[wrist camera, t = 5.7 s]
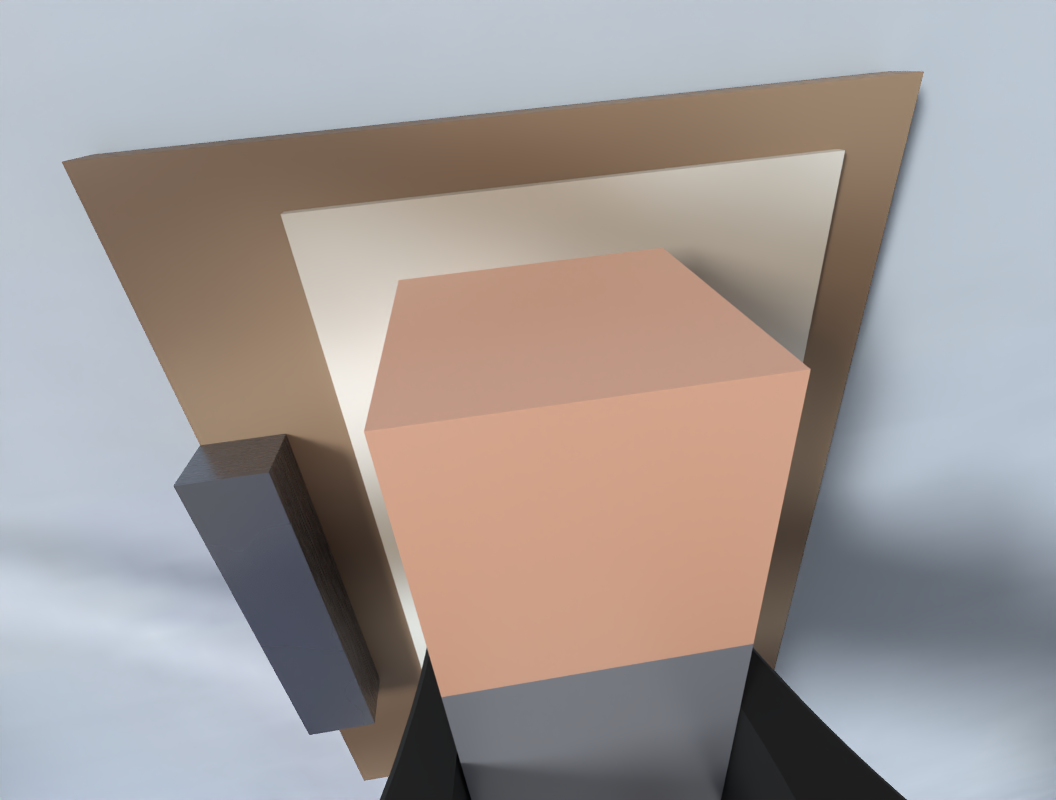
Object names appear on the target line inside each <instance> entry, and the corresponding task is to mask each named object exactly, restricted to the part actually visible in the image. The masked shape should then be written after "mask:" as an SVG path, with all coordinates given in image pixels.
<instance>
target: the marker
mask: <svg viewBox="0 0 1056 800" xmlns="http://www.w3.org/2000/svg"><path fill="white" fill-rule="evenodd" d="M810 370H811V369H810V368H808V367H807V366H806V365H805V364H804V363H802V362H801V361H800V360H799V359H798V358H796V357H795V356H794V355H793V354H791V353H790V352H789V351H788V350H787V349H785V348H784V347H783V346H782V345H780V344H779V343H778V342H777V341H776V340H774V339H773V338H772V337H771V336H770V335H768V334H767V333H766V332H765V331H763V330H762V329H761V328H760V327H759V326H757V325H756V324H755V323H754V322H753V321H751V320H750V319H749V318H748V317H746V316H745V315H744V314H743V313H742V312H740V311H739V310H738V309H737V308H735V307H734V306H733V305H732V304H731V303H729V302H728V301H727V300H726V299H725V298H723V297H722V296H721V295H720V294H718V293H717V292H716V291H715V290H714V289H712V288H711V287H710V286H709V285H707V284H706V283H705V282H704V281H703V280H701V279H700V278H699V277H698V276H697V275H695V274H694V273H693V272H692V271H690V270H689V269H688V268H687V267H686V266H684V265H683V264H682V263H681V262H680V261H678V260H677V259H676V258H675V257H673V256H672V255H671V254H670V253H669V252H667V251H666V250H665V249H664V248H656V249H648V250H640V251H632V252H624V253H616V254H607V255H599V256H591V257H583V258H575V259H567V260H559V261H550V262H542V263H534V264H526V265H518V266H510V267H501V268H493V269H485V270H477V271H469V272H461V273H453V274H444V275H436V276H428V277H420V278H412V279H404V280H399V281H398V285H397V290H396V294H395V298H394V303H393V307H392V311H391V316H390V320H389V325H388V329H387V333H386V338H385V342H384V346H383V351H382V355H381V359H380V364H379V368H378V372H377V377H376V381H375V385H374V390H373V394H372V398H371V403H370V407H369V412H368V416H367V420H366V425H365V429H364V434H365V437H366V441H367V444H368V448H369V451H370V454H371V458H372V461H373V465H374V468H375V472H376V475H377V478H378V482H379V485H380V489H381V492H382V495H383V499H384V502H385V506H386V509H387V513H388V516H389V519H390V523H391V526H392V530H393V533H394V537H395V540H396V543H397V547H398V550H399V554H400V557H401V560H402V564H403V567H404V571H405V574H406V578H407V581H408V584H409V588H410V591H411V595H412V598H413V602H414V605H415V608H416V612H417V615H418V619H419V622H420V626H421V629H422V632H423V636H424V639H425V643H426V646H427V649H428V653H429V656H430V660H431V663H432V667H433V670H434V673H435V677H436V680H437V684H438V687H439V691H440V694H441V697H442V701H443V704H444V708H445V711H446V714H447V718H448V721H449V725H450V728H451V732H452V735H453V738H454V742H455V745H456V749H457V752H458V756H459V759H460V762H461V766H462V769H463V773H464V776H465V780H466V783H467V786H468V790H469V793H470V797H471V800H721V797H722V792H723V787H724V783H725V778H726V773H727V768H728V763H729V759H730V754H731V749H732V744H733V739H734V735H735V730H736V725H737V720H738V715H739V711H740V706H741V701H742V696H743V691H744V687H745V682H746V677H747V672H748V668H749V663H750V658H751V653H752V648H753V644H754V639H755V634H756V629H757V624H758V620H759V615H760V610H761V605H762V600H763V596H764V591H765V586H766V581H767V576H768V572H769V567H770V562H771V557H772V552H773V548H774V543H775V538H776V533H777V528H778V524H779V519H780V514H781V509H782V504H783V500H784V495H785V490H786V485H787V480H788V476H789V471H790V466H791V461H792V457H793V452H794V447H795V442H796V437H797V433H798V428H799V423H800V418H801V413H802V409H803V404H804V399H805V394H806V389H807V385H808V380H809V375H810Z"/></svg>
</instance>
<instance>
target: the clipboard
mask: <svg viewBox="0 0 1056 800" xmlns="http://www.w3.org/2000/svg"><path fill="white" fill-rule="evenodd" d="M923 73H924V72H915V71H888V72H879V73H869V74H860V75H850V76H841V77H831V78H821V79H812V80H802V81H793V82H783V83H774V84H764V85H754V86H745V87H735V88H726V89H716V90H707V91H697V92H687V93H678V94H668V95H659V96H649V97H640V98H630V99H620V100H611V101H601V102H592V103H582V104H573V105H563V106H553V107H544V108H534V109H525V110H515V111H506V112H496V113H486V114H477V115H467V116H458V117H448V118H439V119H429V120H419V121H410V122H400V123H391V124H381V125H372V126H362V127H352V128H343V129H333V130H324V131H314V132H305V133H295V134H285V135H276V136H266V137H257V138H247V139H238V140H228V141H218V142H209V143H199V144H190V145H180V146H171V147H161V148H151V149H142V150H132V151H123V152H113V153H104V154H94V155H89V156H85V157H81V158H76V159H72V160H68V161H64V162H62V163H63V165H64V167H65V169H66V172H67V174H68V176H69V178H70V180H71V182H72V184H73V186H74V188H75V190H76V192H77V194H78V196H79V198H80V200H81V202H82V204H83V206H84V208H85V210H86V212H87V214H88V217H89V219H90V221H91V223H92V225H93V227H94V229H95V231H96V233H97V235H98V237H99V239H100V241H101V243H102V245H103V247H104V249H105V251H106V253H107V255H108V257H109V260H110V262H111V264H112V266H113V268H114V270H115V272H116V274H117V276H118V278H119V280H120V282H121V284H122V286H123V288H124V290H125V292H126V294H127V296H128V298H129V300H130V302H131V305H132V307H133V309H134V311H135V313H136V315H137V317H138V319H139V321H140V323H141V325H142V327H143V329H144V331H145V333H146V335H147V337H148V339H149V341H150V343H151V345H152V347H153V350H154V352H155V354H156V356H157V358H158V360H159V362H160V364H161V366H162V368H163V370H164V372H165V374H166V376H167V378H168V380H169V382H170V384H171V386H172V388H173V390H174V392H175V395H176V397H177V399H178V401H179V403H180V405H181V407H182V409H183V411H184V413H185V415H186V417H187V419H188V421H189V423H190V425H191V427H192V429H193V431H194V433H195V435H196V437H197V440H198V442H199V444H200V447H199V448H198V450H197V451H196V453H195V454H194V456H193V457H192V459H191V460H190V462H189V463H188V465H187V466H186V468H185V469H184V471H183V472H182V474H181V475H180V477H179V478H178V480H177V481H176V483H175V484H174V488H175V490H176V491H177V493H178V495H179V497H180V499H181V501H182V502H183V504H184V506H185V508H186V510H187V512H188V513H189V515H190V517H191V519H192V521H193V523H194V524H195V526H196V528H197V530H198V532H199V534H200V535H201V537H202V539H203V541H204V543H205V545H206V546H207V548H208V550H209V552H210V554H211V556H212V557H213V559H214V561H215V563H216V565H217V567H218V568H219V570H220V572H221V574H222V576H223V578H224V579H225V581H226V583H227V585H228V587H229V588H230V590H231V592H232V594H233V596H234V598H235V599H236V601H237V603H238V605H239V607H240V609H241V610H242V612H243V614H244V616H245V618H246V620H247V621H248V623H249V625H250V627H251V629H252V631H253V632H254V634H255V636H256V638H257V640H258V642H259V643H260V645H261V647H262V649H263V651H264V653H265V654H266V656H267V658H268V660H269V662H270V664H271V665H272V667H273V669H274V671H275V673H276V675H277V676H278V678H279V680H280V682H281V684H282V686H283V687H284V689H285V691H286V693H287V695H288V696H289V698H290V700H291V702H292V704H293V706H294V707H295V709H296V711H297V713H298V715H299V717H300V718H301V720H302V722H303V724H304V726H305V728H306V729H307V731H308V733H309V735H312V734H318V733H324V732H330V731H335V730H340V732H341V734H342V736H343V738H344V740H345V742H346V744H347V746H348V748H349V751H350V753H351V755H352V757H353V759H354V761H355V763H356V765H357V767H358V769H359V771H360V773H361V775H362V777H363V779H364V781H365V780H371V779H376V778H382V777H388V776H389V775H390V772H391V769H392V766H393V763H394V760H395V757H396V754H397V751H398V748H399V745H400V742H401V739H402V736H403V733H404V730H405V727H406V723H407V720H408V717H409V714H410V711H411V707H412V704H413V700H414V697H415V693H416V690H417V686H418V682H419V678H420V675H421V670H422V666H423V662H424V657H425V653H426V648H427V646H426V643H425V639H424V636H423V632H422V629H421V626H420V622H419V619H418V615H417V612H416V608H415V605H414V602H413V598H412V595H411V591H410V588H409V584H408V581H407V578H406V574H405V571H404V567H403V564H402V560H401V557H400V554H399V550H398V547H397V543H396V540H395V537H394V533H393V530H392V526H391V523H390V519H389V516H388V513H387V509H386V506H385V502H384V499H383V495H382V492H381V489H380V485H379V482H378V478H377V475H376V472H375V468H374V465H373V461H372V458H371V454H370V451H369V448H368V444H367V441H366V437H365V434H364V429H365V425H366V420H367V416H368V412H369V407H370V403H371V398H372V394H373V390H374V385H375V381H376V377H377V372H378V368H379V364H380V359H381V355H382V351H383V346H384V342H385V338H386V333H387V329H388V325H389V320H390V316H391V311H392V307H393V303H394V298H395V294H396V290H397V285H398V281H399V280H404V279H412V278H420V277H428V276H436V275H444V274H453V273H461V272H469V271H477V270H485V269H493V268H501V267H510V266H518V265H526V264H534V263H542V262H550V261H559V260H567V259H575V258H583V257H591V256H599V255H607V254H616V253H624V252H632V251H640V250H648V249H656V248H664V249H665V250H666V251H667V252H669V253H670V254H671V255H672V256H673V257H675V258H676V259H677V260H678V261H680V262H681V263H682V264H683V265H684V266H686V267H687V268H688V269H689V270H690V271H692V272H693V273H694V274H695V275H697V276H698V277H699V278H700V279H701V280H703V281H704V282H705V283H706V284H707V285H709V286H710V287H711V288H712V289H714V290H715V291H716V292H717V293H718V294H720V295H721V296H722V297H723V298H725V299H726V300H727V301H728V302H729V303H731V304H732V305H733V306H734V307H735V308H737V309H738V310H739V311H740V312H742V313H743V314H744V315H745V316H746V317H748V318H749V319H750V320H751V321H753V322H754V323H755V324H756V325H757V326H759V327H760V328H761V329H762V330H763V331H765V332H766V333H767V334H768V335H770V336H771V337H772V338H773V339H774V340H776V341H777V342H778V343H779V344H780V345H782V346H783V347H784V348H785V349H787V350H788V351H789V352H790V353H791V354H793V355H794V356H795V357H796V358H798V359H799V360H800V361H801V362H802V363H804V364H805V365H806V366H807V367H808V368H810V369H811V370H810V375H809V380H808V385H807V389H806V394H805V399H804V404H803V409H802V413H801V418H800V423H799V428H798V433H797V437H796V442H795V447H794V452H793V457H792V461H791V466H790V471H789V476H788V480H787V485H786V490H785V495H784V500H783V504H782V509H781V514H780V519H779V524H778V528H777V533H776V538H775V543H774V548H773V552H772V557H771V562H770V567H769V572H768V576H767V581H766V586H765V591H764V596H763V600H762V605H761V610H760V615H759V620H758V624H757V629H756V634H755V639H754V644H753V648H754V649H755V650H756V651H757V652H758V653H759V654H760V655H761V657H762V658H763V659H764V660H765V661H766V662H767V663H768V664H769V665H770V667H771V668H772V669H773V670H774V668H775V664H776V660H777V656H778V652H779V648H780V644H781V640H782V636H783V632H784V628H785V624H786V620H787V616H788V612H789V608H790V604H791V600H792V596H793V592H794V588H795V584H796V580H797V576H798V572H799V568H800V564H801V560H802V556H803V552H804V548H805V544H806V540H807V536H808V532H809V528H810V524H811V520H812V516H813V512H814V508H815V504H816V500H817V496H818V492H819V488H820V484H821V480H822V476H823V472H824V468H825V464H826V460H827V456H828V452H829V448H830V444H831V440H832V436H833V432H834V428H835V424H836V420H837V416H838V412H839V408H840V404H841V400H842V396H843V392H844V388H845V384H846V380H847V376H848V372H849V369H850V365H851V361H852V357H853V353H854V349H855V345H856V341H857V337H858V333H859V329H860V325H861V321H862V317H863V313H864V309H865V305H866V301H867V297H868V293H869V289H870V285H871V281H872V277H873V273H874V269H875V265H876V261H877V257H878V253H879V249H880V245H881V241H882V237H883V233H884V229H885V225H886V221H887V217H888V213H889V209H890V205H891V201H892V197H893V193H894V189H895V185H896V181H897V177H898V173H899V169H900V165H901V161H902V157H903V153H904V149H905V145H906V141H907V137H908V133H909V129H910V125H911V121H912V117H913V113H914V109H915V105H916V101H917V97H918V93H919V89H920V85H921V81H922V77H923Z"/></svg>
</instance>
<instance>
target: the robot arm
mask: <svg viewBox="0 0 1056 800" xmlns="http://www.w3.org/2000/svg"><path fill="white" fill-rule="evenodd" d="M380 800H471V797H470V793H469V790H468V786H467V783H466V780H465V776H464V773H463V769H462V766H461V762H460V759H459V756H458V752H457V749H456V745H455V742H454V738H453V735H452V732H451V728H450V725H449V721H448V718H447V714H446V711H445V708H444V704H443V701H442V697H441V694H440V691H439V687H438V684H437V680H436V677H435V673H434V670H433V667H432V663H431V660H430V656H429V653H428V649H427V648H426V653H425V657H424V662H423V666H422V670H421V675H420V678H419V682H418V686H417V690H416V693H415V697H414V700H413V704H412V707H411V711H410V714H409V717H408V720H407V723H406V727H405V730H404V733H403V736H402V739H401V742H400V745H399V748H398V751H397V754H396V757H395V760H394V763H393V766H392V769H391V772H390V775H389V777H388V780H387V782H386V785H385V788H384V790H383V793H382V796H381V798H380ZM721 800H906V799H905V798H904V797H903V796H902V795H901V794H900V793H899V792H897V791H896V790H895V789H894V788H893V787H892V786H891V785H890V784H888V783H887V782H886V781H885V780H884V779H883V778H882V777H881V776H879V775H878V774H877V773H876V772H875V771H874V770H873V769H872V768H871V767H870V766H869V765H868V764H866V763H865V762H864V761H863V760H862V759H861V758H860V757H859V756H858V755H857V754H856V753H855V752H854V751H853V750H852V749H851V748H849V747H848V746H847V745H846V744H845V743H844V742H843V741H842V740H841V739H840V738H839V737H838V736H837V735H836V734H835V733H834V732H833V731H832V730H831V729H830V728H829V727H828V726H827V725H826V724H825V723H824V722H823V721H822V720H821V719H820V718H819V717H818V716H817V715H816V714H815V713H814V712H813V711H812V710H811V709H810V708H809V707H808V706H807V705H806V704H805V703H804V702H803V701H802V700H801V699H800V698H799V696H798V695H797V694H796V693H795V692H794V691H793V690H792V689H791V688H790V687H789V686H788V685H787V684H786V683H785V682H784V680H783V679H782V678H781V677H780V676H779V675H778V674H777V673H776V672H775V671H774V670H773V669H772V668H771V667H770V665H769V664H768V663H767V662H766V661H765V660H764V659H763V658H762V657H761V655H760V654H759V653H758V652H757V651H756V650H755V649H754V648H752V653H751V658H750V663H749V668H748V672H747V677H746V682H745V687H744V691H743V696H742V701H741V706H740V711H739V715H738V720H737V725H736V730H735V735H734V739H733V744H732V749H731V754H730V759H729V763H728V768H727V773H726V778H725V783H724V787H723V792H722V797H721Z"/></svg>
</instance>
